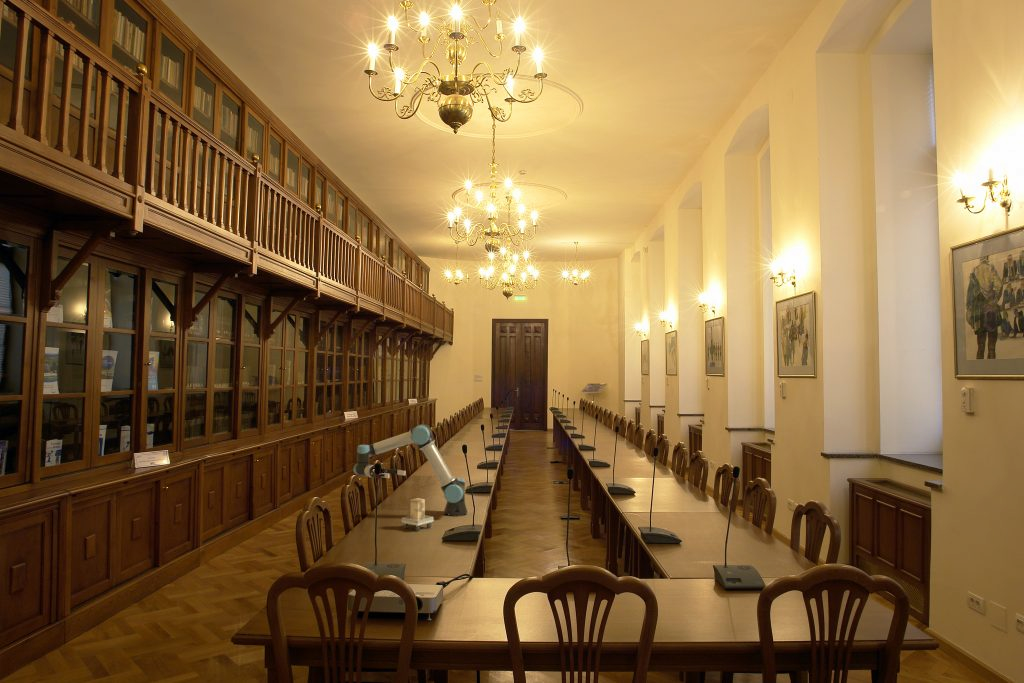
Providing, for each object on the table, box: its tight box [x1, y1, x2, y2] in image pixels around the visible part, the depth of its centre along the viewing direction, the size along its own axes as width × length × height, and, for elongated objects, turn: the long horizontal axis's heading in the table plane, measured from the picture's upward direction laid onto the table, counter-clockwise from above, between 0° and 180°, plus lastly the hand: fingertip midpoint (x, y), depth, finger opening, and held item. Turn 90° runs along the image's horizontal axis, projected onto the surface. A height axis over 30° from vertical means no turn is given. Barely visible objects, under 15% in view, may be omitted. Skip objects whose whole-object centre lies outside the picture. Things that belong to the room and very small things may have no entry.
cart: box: [401, 514, 434, 532], centre depth 395 cm, size 13×13×6 cm
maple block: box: [409, 497, 426, 520], centre depth 395 cm, size 6×6×12 cm
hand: (397, 474), depth 406 cm, fingers open, 13 cm apart
